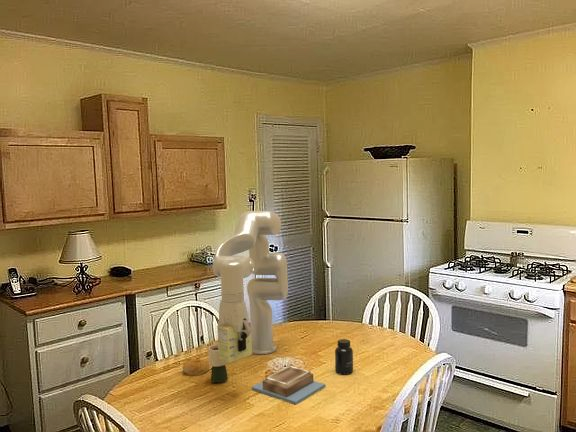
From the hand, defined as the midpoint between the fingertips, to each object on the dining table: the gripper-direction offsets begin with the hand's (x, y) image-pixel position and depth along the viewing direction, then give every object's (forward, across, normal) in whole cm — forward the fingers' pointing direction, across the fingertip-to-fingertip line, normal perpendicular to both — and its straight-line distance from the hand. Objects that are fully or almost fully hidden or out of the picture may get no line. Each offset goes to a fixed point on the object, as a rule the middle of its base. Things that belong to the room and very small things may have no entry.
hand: (235, 347), depth 171 cm
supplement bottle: (+18, +19, +39) cm, 47 cm away
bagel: (+18, -29, +7) cm, 35 cm away
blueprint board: (+17, +11, +15) cm, 25 cm away
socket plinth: (+17, +11, +15) cm, 25 cm away
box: (+3, 0, 0) cm, 3 cm away
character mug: (+18, -14, +5) cm, 23 cm away
